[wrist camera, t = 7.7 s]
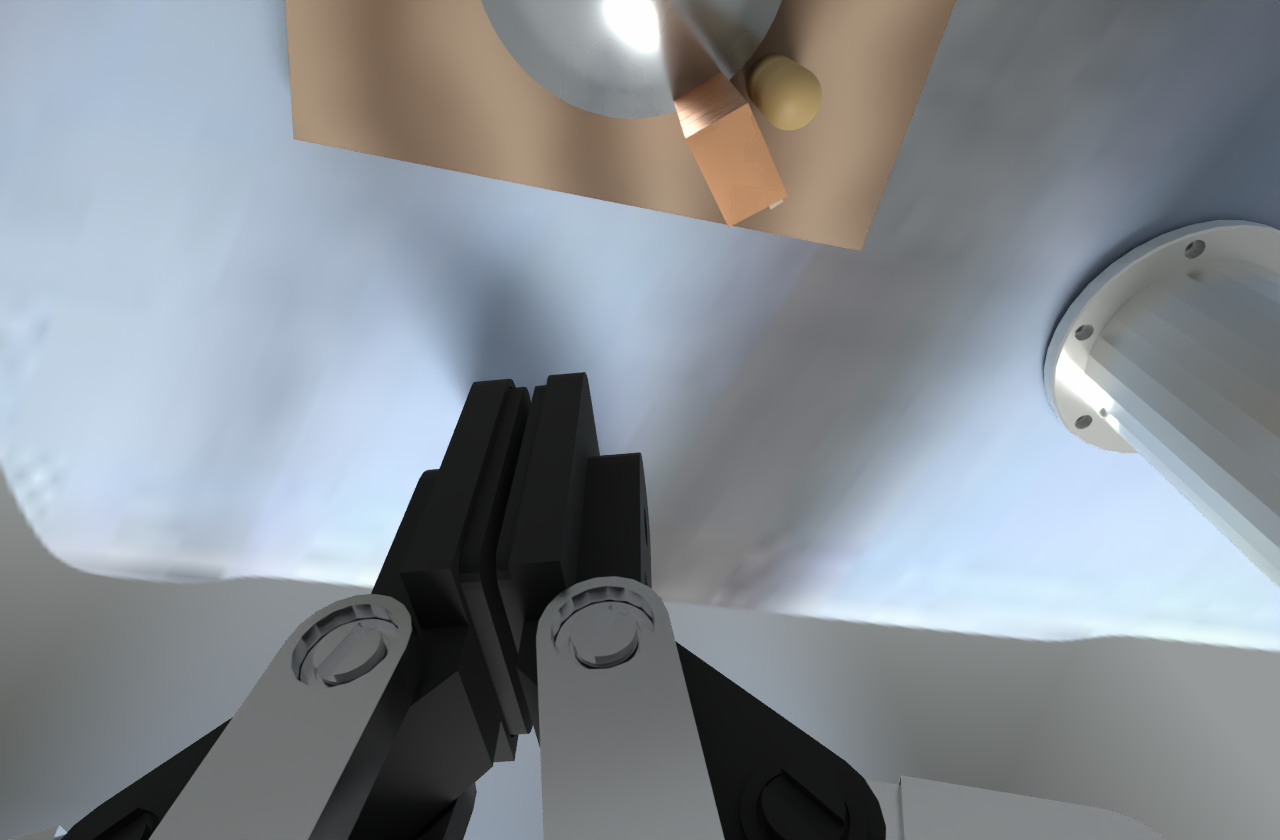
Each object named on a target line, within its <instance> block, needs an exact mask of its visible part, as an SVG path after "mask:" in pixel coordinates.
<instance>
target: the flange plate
mask: <svg viewBox="0 0 1280 840" xmlns="http://www.w3.org/2000/svg"><path fill="white" fill-rule="evenodd" d="M481 2H482V5H483V7H484V10H485V12H486V14H487V16H488V18H489V20H490V22H491V24H492V26H493V28H494V30H495V32H496V34H497V35H498V37H499V38H500V40H501V41H502V43H503V44H504V46H505V47H506V49H507V50H508V52H509V53H510V54H511V56H512V57H513V58H514V59H515V60H516V62H517V63H518V64H519V65H520V66H521V67H522V69H523V70H524V71H525V72H527V73H528V74H529V75H530V76H531V77H532V78H533V79H534V80H535V81H536V82H537V83H538V84H540V85H541V86H542V87H544V88H545V89H546V90H548V91H549V92H551V93H552V94H553V95H555V96H556V97H558V98H560V99H562V100H564V101H565V102H567V103H569V104H571V105H573V106H575V107H578V108H580V109H583V110H586V111H588V112H591V113H595V114H599V115H603V116H608V117H615V118H626V119H636V118H650V117H655V116H661V115H666V114H669V113H672V112H675V111H677V114H678V117H679V120H680V123H681V126H682V129H683V133H684V136H685V139H686V141H687V143H688V145H689V147H690V149H691V151H692V153H693V155H694V157H695V159H696V161H697V163H698V166H699V168H700V170H701V172H702V174H703V176H704V178H705V180H706V182H707V184H708V186H709V188H710V190H711V192H712V194H713V196H714V198H715V201H716V203H717V205H718V207H719V209H720V211H721V213H722V215H723V217H724V219H725V221H726V223H727V225H728V227H730V226H732V225H734V224H736V223H738V222H740V221H742V220H744V219H746V218H748V217H749V216H751V215H753V214H755V213H757V212H759V211H761V210H763V209H765V208H767V207H768V206H770V205H772V204H774V203H776V202H778V201H780V200H782V199H784V198H786V197H787V196H788V195H787V192H786V190H785V188H784V185H783V183H782V181H781V178H780V176H779V174H778V171H777V169H776V167H775V164H774V162H773V160H772V157H771V155H770V153H769V150H768V148H767V146H766V143H765V141H764V139H763V136H762V134H761V132H760V129H759V127H758V125H757V122H756V120H755V118H754V115H753V113H752V111H751V108H750V106H749V104H748V102H747V101H746V100H745V99H744V97H743V96H742V95H741V94H740V93H739V91H738V90H737V89H736V88H735V87H734V86H733V84H732V83H731V82H730V81H729V80H730V79H731V78H732V77H733V76H734V75H735V74H736V73H737V72H738V71H739V70H740V69H741V68H742V67H743V66H744V64H745V63H746V62H747V61H748V60H749V59H750V58H751V56H752V55H753V53H754V52H755V51H756V49H757V48H758V46H759V45H760V43H761V42H762V41H763V39H764V37H765V35H766V34H767V32H768V30H769V28H770V26H771V24H772V22H773V21H774V19H775V16H776V14H777V11H778V9H779V6H780V4H781V2H782V0H481Z"/></svg>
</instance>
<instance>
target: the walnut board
mask: <svg viewBox="0 0 1280 840" xmlns="http://www.w3.org/2000/svg"><path fill="white" fill-rule="evenodd" d="M955 2H956V0H782V2H781V4H780V6H779V9H778V11H777V14H776V16H775V19H774V21H773V22H772V24H771V26H770V28H769V30H768V32H767V34H766V35H765V37H764V39H763V41H762V42H761V43H760V45H759V46H758V48H757V49H756V51H755V52H754V53H753V55H752V56H751V58H750V59H749V60H748V61H747V62H746V63H745V64H744V66H743V67H742V68H741V69H740V70H739V71H738V72H737V73H736V74H735V75H734V76H733V77H732V78H731V79H730V80H729V81H730V82H731V83H732V84H733V86H734V87H735V88H736V89H737V90H738V91H739V93H740V94H741V95H742V96H743V97H744V99H745V100H746V101H747V102H748V104H749V106H750V108H751V111H752V113H753V115H754V118H755V120H756V122H757V125H758V127H759V129H760V132H761V134H762V136H763V139H764V141H765V143H766V146H767V148H768V150H769V153H770V155H771V157H772V160H773V162H774V164H775V167H776V169H777V171H778V174H779V176H780V178H781V181H782V183H783V185H784V188H785V190H786V192H787V195H788V196H787V197H786V198H784V199H782V200H780V201H778V202H776V203H774V204H772V205H770V206H768V207H767V208H765V209H763V210H761V211H759V212H757V213H755V214H753V215H751V216H749V217H748V218H746V219H744V220H742V221H740V222H738V223H736V224H734V225H732V226H737V227H742V228H747V229H752V230H757V231H762V232H767V233H772V234H777V235H783V236H788V237H793V238H798V239H803V240H808V241H813V242H818V243H823V244H828V245H833V246H838V247H843V248H849V249H854V250H859V251H861V248H862V246H863V243H864V241H865V238H866V235H867V233H868V230H869V227H870V225H871V222H872V220H873V217H874V214H875V212H876V209H877V206H878V204H879V201H880V199H881V196H882V193H883V191H884V188H885V185H886V183H887V180H888V178H889V175H890V172H891V170H892V167H893V164H894V162H895V159H896V157H897V154H898V151H899V149H900V146H901V143H902V141H903V138H904V136H905V133H906V130H907V128H908V125H909V122H910V120H911V117H912V115H913V112H914V109H915V107H916V104H917V101H918V99H919V96H920V94H921V91H922V88H923V86H924V83H925V80H926V78H927V75H928V73H929V70H930V67H931V65H932V62H933V59H934V57H935V54H936V52H937V49H938V46H939V44H940V41H941V38H942V36H943V33H944V30H945V28H946V25H947V23H948V20H949V17H950V15H951V12H952V9H953V7H954V4H955ZM285 8H286V24H287V40H288V56H289V72H290V88H291V104H292V120H293V136H294V139H295V140H300V141H306V142H311V143H316V144H321V145H326V146H331V147H336V148H341V149H346V150H351V151H356V152H361V153H366V154H372V155H377V156H382V157H387V158H392V159H397V160H402V161H407V162H412V163H417V164H422V165H427V166H432V167H437V168H443V169H448V170H453V171H458V172H463V173H468V174H473V175H478V176H483V177H488V178H493V179H498V180H503V181H509V182H514V183H519V184H524V185H529V186H534V187H539V188H544V189H549V190H554V191H559V192H564V193H569V194H575V195H580V196H585V197H590V198H595V199H600V200H605V201H610V202H615V203H620V204H625V205H630V206H635V207H640V208H646V209H651V210H656V211H661V212H666V213H671V214H676V215H681V216H686V217H691V218H696V219H701V220H706V221H712V222H717V223H722V224H727V223H726V221H725V219H724V217H723V215H722V213H721V211H720V209H719V207H718V205H717V203H716V201H715V198H714V196H713V194H712V192H711V190H710V188H709V186H708V184H707V182H706V180H705V178H704V176H703V174H702V172H701V170H700V168H699V166H698V163H697V161H696V159H695V157H694V155H693V153H692V151H691V149H690V147H689V145H688V143H687V141H686V139H685V136H684V133H683V129H682V126H681V123H680V120H679V117H678V114H677V111H675V112H672V113H669V114H666V115H661V116H655V117H650V118H636V119H626V118H615V117H608V116H603V115H599V114H595V113H591V112H588V111H586V110H583V109H580V108H578V107H575V106H573V105H571V104H569V103H567V102H565V101H564V100H562V99H560V98H558V97H556V96H555V95H553V94H552V93H551V92H549V91H548V90H546V89H545V88H544V87H542V86H541V85H540V84H538V83H537V82H536V81H535V80H534V79H533V78H532V77H531V76H530V75H529V74H528V73H527V72H525V71H524V70H523V69H522V67H521V66H520V65H519V64H518V63H517V62H516V60H515V59H514V58H513V57H512V56H511V54H510V53H509V52H508V50H507V49H506V47H505V46H504V44H503V43H502V41H501V40H500V38H499V37H498V35H497V34H496V32H495V30H494V28H493V26H492V24H491V22H490V20H489V18H488V16H487V14H486V12H485V10H484V7H483V5H482V2H481V0H285Z"/></svg>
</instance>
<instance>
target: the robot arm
mask: <svg viewBox="0 0 1280 840" xmlns="http://www.w3.org/2000/svg"><path fill="white" fill-rule="evenodd" d="M1044 389H1045V392H1046V396H1047V399H1048V402H1049V405H1050V407H1051V409H1052V410H1053V412H1054V413H1055V415H1056V416H1057V418H1058V420H1059V421H1060V422H1061V423H1062V424H1063V425H1064V426H1065V427H1066V428H1067V429H1068V430H1069V431H1070V432H1071V433H1072V434H1073V435H1075V436H1076V437H1078V438H1079V439H1081V440H1082V441H1083V442H1085V443H1086V444H1089V445H1091V446H1094V447H1097V448H1099V449H1102V450H1105V451H1111V452H1117V453H1123V454H1140V455H1141V456H1142V457H1143V458H1144V459H1145V460H1146V461H1147V462H1148V463H1149V464H1150V465H1151V466H1152V467H1153V468H1154V469H1155V470H1156V471H1158V472H1159V473H1160V474H1161V475H1162V476H1163V477H1164V478H1165V479H1166V480H1167V481H1168V482H1169V483H1170V484H1171V485H1172V486H1173V487H1174V488H1175V489H1176V490H1177V491H1178V492H1179V493H1180V494H1181V495H1182V496H1184V497H1185V498H1186V499H1187V500H1188V501H1189V502H1190V503H1191V504H1192V505H1193V506H1194V507H1195V508H1196V509H1197V510H1198V511H1199V512H1200V513H1201V514H1202V515H1203V516H1204V517H1205V518H1206V519H1207V520H1208V521H1209V522H1211V523H1212V524H1213V525H1214V526H1215V527H1216V528H1217V529H1218V530H1219V531H1220V532H1221V533H1222V534H1223V535H1224V536H1225V537H1226V538H1227V539H1228V540H1229V541H1230V542H1231V543H1232V544H1233V545H1234V546H1235V547H1236V548H1238V549H1239V550H1240V551H1241V552H1242V553H1243V554H1244V555H1245V556H1246V557H1247V558H1248V559H1249V560H1250V561H1251V562H1252V563H1253V564H1254V565H1255V566H1256V567H1257V568H1258V569H1259V570H1260V571H1261V572H1262V573H1263V574H1265V575H1266V576H1267V577H1268V578H1269V579H1270V580H1271V581H1272V582H1273V583H1274V584H1275V585H1276V586H1277V587H1278V588H1279V589H1280V230H1278V229H1275V228H1273V227H1271V226H1268V225H1265V224H1260V223H1256V222H1251V221H1246V220H1214V221H1209V222H1203V223H1197V224H1192V225H1188V226H1185V227H1182V228H1179V229H1176V230H1173V231H1170V232H1167V233H1164V234H1162V235H1160V236H1158V237H1156V238H1154V239H1152V240H1150V241H1148V242H1146V243H1144V244H1142V245H1140V246H1138V247H1136V248H1134V249H1133V250H1131V251H1130V252H1128V253H1127V254H1125V255H1124V256H1122V257H1121V258H1120V259H1118V260H1117V261H1115V262H1114V263H1112V264H1111V265H1109V266H1108V267H1107V268H1106V269H1105V270H1104V271H1103V272H1102V273H1100V274H1099V275H1098V276H1097V277H1096V278H1095V279H1094V280H1093V281H1092V282H1090V283H1089V284H1088V285H1087V287H1086V288H1085V289H1084V290H1083V291H1082V292H1081V294H1080V295H1079V296H1078V297H1077V298H1076V299H1075V301H1074V302H1073V303H1072V304H1071V305H1070V307H1069V308H1068V310H1067V312H1066V313H1065V315H1064V316H1063V318H1062V320H1061V321H1060V323H1059V324H1058V326H1057V328H1056V330H1055V333H1054V335H1053V338H1052V340H1051V342H1050V345H1049V347H1048V351H1047V356H1046V361H1045V366H1044ZM532 726H534V729H535V733H536V736H537V739H538V743H539V746H540V754H541V778H542V779H541V780H542V803H543V804H542V806H543V830H544V840H1167V839H1166V838H1164V837H1163V836H1161V835H1160V834H1158V833H1156V832H1155V831H1153V830H1152V829H1150V828H1149V827H1147V826H1145V825H1144V824H1142V823H1140V822H1139V821H1137V820H1136V819H1134V818H1131V817H1128V816H1125V815H1122V814H1118V813H1115V812H1112V811H1109V810H1106V809H1102V808H1095V807H1090V806H1083V805H1078V804H1071V803H1066V802H1059V801H1053V800H1047V799H1041V798H1035V797H1029V796H1023V795H1017V794H1011V793H1005V792H999V791H992V790H987V789H981V788H974V787H968V786H962V785H956V784H950V783H944V782H938V781H932V780H926V779H919V778H914V777H907V776H902V775H901V776H900V781H899V785H895V784H890V783H884V782H878V781H872V780H866V779H864V778H863V777H862V776H861V775H860V774H859V773H858V772H857V771H855V769H853V768H852V767H851V766H850V765H849V764H848V763H847V762H846V761H845V760H843V759H842V758H840V757H839V756H837V755H836V754H835V753H833V752H832V751H830V750H829V749H828V748H826V747H825V746H823V745H822V744H820V743H819V742H818V741H816V740H815V739H813V738H812V737H810V736H809V735H808V734H806V733H805V732H803V731H802V730H801V729H799V728H798V727H796V726H795V725H793V724H792V723H791V722H789V721H788V720H786V719H785V718H784V717H782V716H781V715H779V714H777V713H776V712H775V711H774V710H772V709H771V708H769V707H768V706H766V705H765V704H764V703H762V702H761V701H759V700H758V699H757V698H755V697H754V696H752V695H751V694H749V693H748V692H747V691H745V690H744V689H742V688H741V687H740V686H738V685H737V684H735V683H734V682H732V681H731V680H730V679H728V678H727V677H725V676H724V675H722V674H721V673H720V672H718V671H717V670H715V669H714V668H713V667H711V666H710V665H708V664H707V663H706V662H704V661H703V660H701V659H700V658H698V657H697V656H696V655H694V654H693V653H691V652H690V651H688V650H687V649H686V648H684V647H683V646H681V645H680V644H678V643H677V642H676V641H675V638H674V634H673V630H672V626H671V622H670V618H669V614H668V611H667V609H666V607H665V605H664V603H663V601H662V599H661V597H659V596H658V595H657V594H656V593H655V592H654V591H653V590H652V588H651V550H650V530H649V516H648V505H647V495H646V486H645V478H644V469H643V461H642V456H641V453H628V454H616V455H604V456H600V454H599V447H598V441H597V434H596V428H595V422H594V415H593V409H592V403H591V396H590V390H589V384H588V379H587V375H586V373H585V372H583V373H571V374H560V375H550V376H548V379H547V384H546V385H542V386H536V387H535V390H534V394H533V398H532V402H531V401H530V396H529V393H528V390H527V388H526V387H519V388H516V387H515V384H514V382H513V380H512V379H503V380H491V381H480V382H474V383H473V385H472V387H471V389H470V392H469V394H468V397H467V400H466V402H465V405H464V407H463V410H462V412H461V415H460V418H459V420H458V423H457V425H456V428H455V430H454V433H453V436H452V438H451V441H450V443H449V446H448V448H447V451H446V454H445V456H444V459H443V461H442V464H441V466H440V469H433V470H427V471H425V472H423V474H422V476H421V477H420V479H419V481H418V483H417V486H416V488H415V491H414V493H413V495H412V498H411V500H410V502H409V505H408V507H407V510H406V512H405V514H404V517H403V519H402V522H401V524H400V526H399V529H398V531H397V533H396V536H395V538H394V541H393V543H392V545H391V548H390V550H389V552H388V555H387V557H386V560H385V562H384V564H383V567H382V569H381V571H380V574H379V576H378V579H377V581H376V583H375V586H374V588H373V591H372V593H371V594H367V595H356V596H353V597H349V598H346V599H343V600H339V601H336V602H334V603H332V604H330V605H328V606H326V607H324V608H323V609H321V610H318V611H317V612H315V613H314V614H313V615H312V616H310V617H309V618H308V619H306V620H305V621H304V622H302V623H301V624H300V625H299V626H298V627H297V628H296V629H295V631H294V632H293V633H292V634H291V635H290V636H289V637H288V639H287V640H286V641H285V643H284V644H283V645H282V647H281V648H280V650H279V651H278V653H277V654H276V656H275V657H274V659H273V660H272V661H271V663H270V664H269V666H268V667H267V669H266V670H265V672H264V673H263V674H262V676H261V677H260V679H259V680H258V682H257V683H256V685H255V686H254V687H253V689H252V690H251V692H250V693H249V695H248V696H247V698H246V699H245V701H244V702H243V703H242V705H241V706H240V708H239V709H238V711H237V712H236V714H235V715H234V717H232V718H231V719H229V720H228V721H226V722H225V723H223V724H222V725H221V726H219V727H217V728H216V729H214V730H213V731H211V732H210V733H208V734H207V735H205V736H204V737H202V738H201V739H199V740H198V741H196V742H195V743H193V744H192V745H190V746H189V747H187V748H186V749H184V750H183V751H181V752H180V753H178V754H177V755H175V756H174V757H172V758H171V759H169V760H168V761H166V762H165V763H163V764H162V765H160V766H158V767H157V768H155V769H154V770H152V771H151V772H149V773H148V774H146V775H145V776H143V777H142V778H141V779H139V780H137V781H136V782H134V783H133V784H131V785H130V786H129V787H127V788H125V789H124V790H122V791H121V792H119V793H118V794H116V795H115V796H113V797H112V798H110V799H109V800H107V801H106V802H104V803H103V804H101V805H100V806H98V807H97V808H96V809H94V810H93V811H92V812H91V813H89V814H88V815H87V816H86V817H84V818H83V819H82V820H80V821H79V822H78V823H76V824H75V825H74V826H73V827H72V828H71V829H70V830H69V831H68V832H66V831H65V830H64V829H63V828H62V827H61V826H60V825H58V826H55V827H51V828H47V829H44V830H40V831H36V832H33V833H29V834H26V835H22V836H19V837H15V838H11V839H7V840H463V839H464V836H465V833H466V830H467V827H468V824H469V821H470V817H471V815H472V812H473V809H474V804H475V798H476V793H477V791H476V784H475V782H476V781H477V780H478V779H479V778H480V777H481V776H482V775H484V774H485V773H486V772H487V771H488V770H489V769H490V768H491V767H493V762H502V761H514V760H515V753H516V746H517V740H518V734H529V733H530V732H531V729H532Z"/></svg>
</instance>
